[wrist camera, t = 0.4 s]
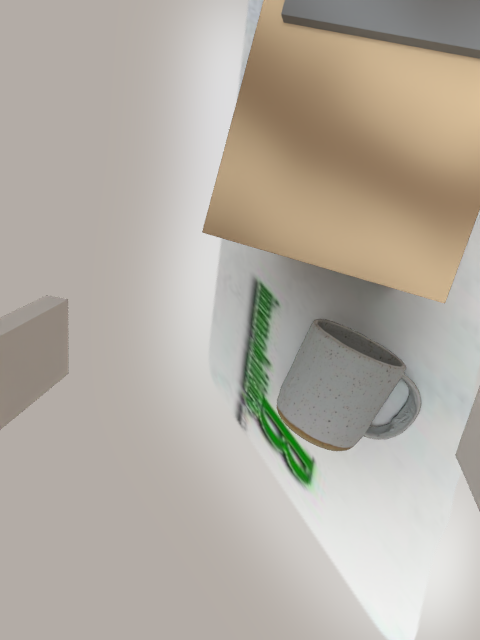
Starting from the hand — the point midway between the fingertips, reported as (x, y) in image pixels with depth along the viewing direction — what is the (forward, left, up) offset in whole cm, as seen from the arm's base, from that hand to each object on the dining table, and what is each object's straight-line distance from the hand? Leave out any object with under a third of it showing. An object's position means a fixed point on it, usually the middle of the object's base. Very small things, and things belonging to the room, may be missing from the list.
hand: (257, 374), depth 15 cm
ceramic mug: (+5, +5, -25) cm, 26 cm away
